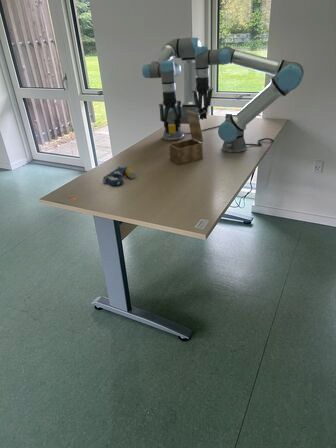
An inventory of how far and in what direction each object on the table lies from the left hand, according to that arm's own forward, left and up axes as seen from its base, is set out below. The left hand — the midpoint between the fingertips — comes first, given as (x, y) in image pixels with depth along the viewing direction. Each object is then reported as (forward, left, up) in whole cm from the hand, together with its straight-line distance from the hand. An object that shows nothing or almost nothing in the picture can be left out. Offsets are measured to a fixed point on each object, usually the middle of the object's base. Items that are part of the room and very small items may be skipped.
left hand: (171, 131), depth 202 cm
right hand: (-19, +6, +5) cm, 21 cm away
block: (0, 0, 0) cm, 0 cm away
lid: (-12, +6, +2) cm, 14 cm away
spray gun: (+39, +8, -17) cm, 44 cm away
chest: (-6, +6, -17) cm, 19 cm away
